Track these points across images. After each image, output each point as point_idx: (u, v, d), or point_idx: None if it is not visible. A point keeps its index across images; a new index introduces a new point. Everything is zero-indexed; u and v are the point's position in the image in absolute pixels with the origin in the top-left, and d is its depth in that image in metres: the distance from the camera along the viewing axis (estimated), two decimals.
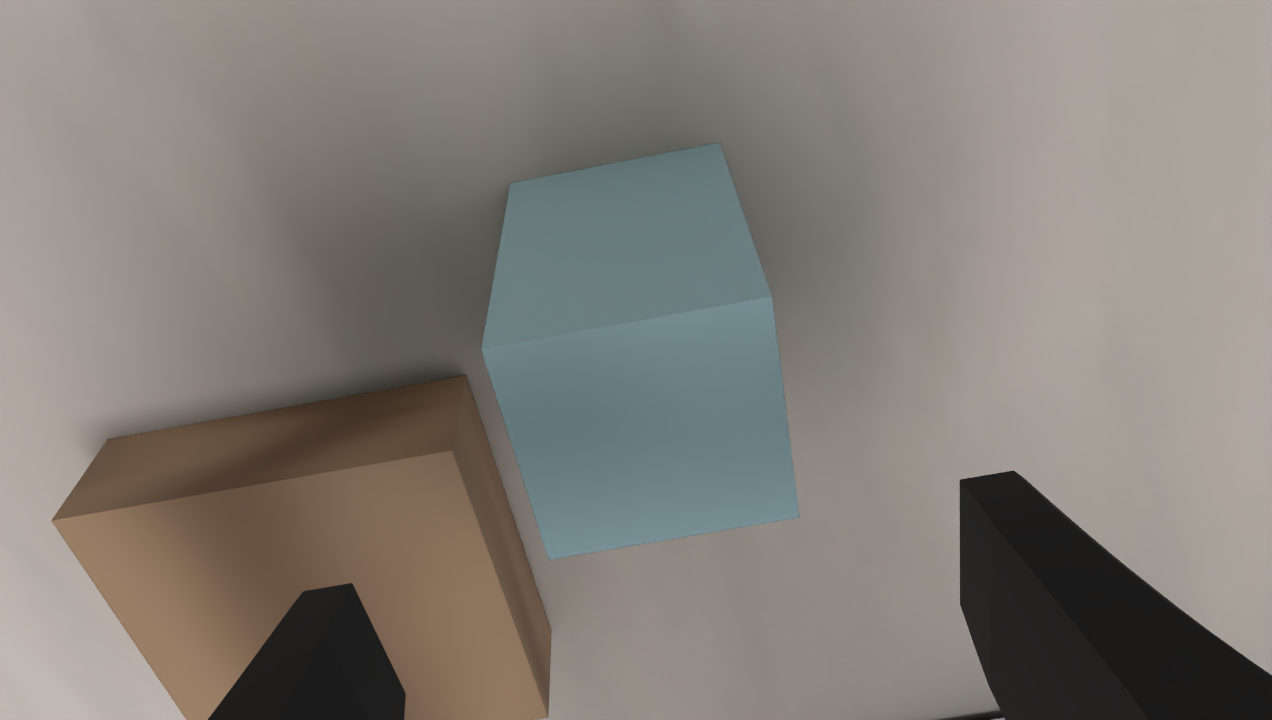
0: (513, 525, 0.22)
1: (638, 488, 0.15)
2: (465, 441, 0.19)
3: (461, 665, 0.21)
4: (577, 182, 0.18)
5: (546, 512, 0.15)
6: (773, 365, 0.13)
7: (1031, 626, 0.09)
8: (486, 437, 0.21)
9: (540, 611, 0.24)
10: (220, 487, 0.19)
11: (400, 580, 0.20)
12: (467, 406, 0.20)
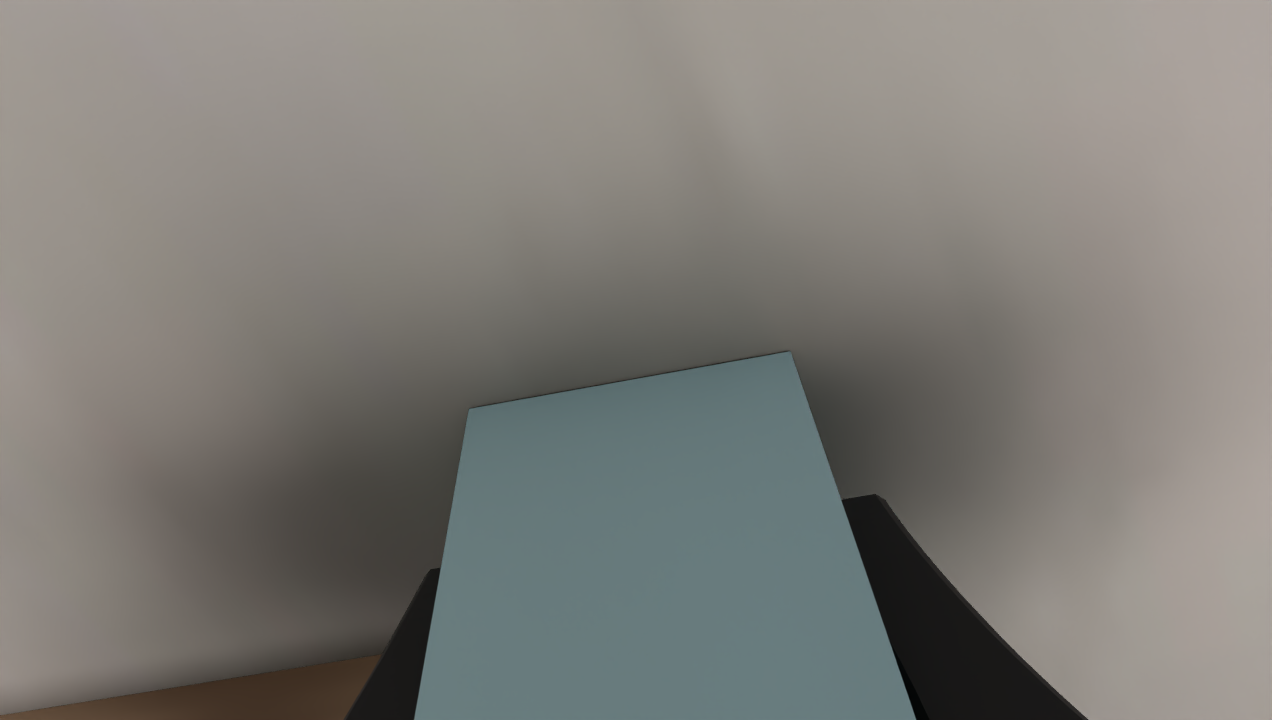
0: None
1: None
2: None
3: None
4: (572, 419, 0.11)
5: None
6: None
7: None
8: None
9: None
10: None
11: None
12: None
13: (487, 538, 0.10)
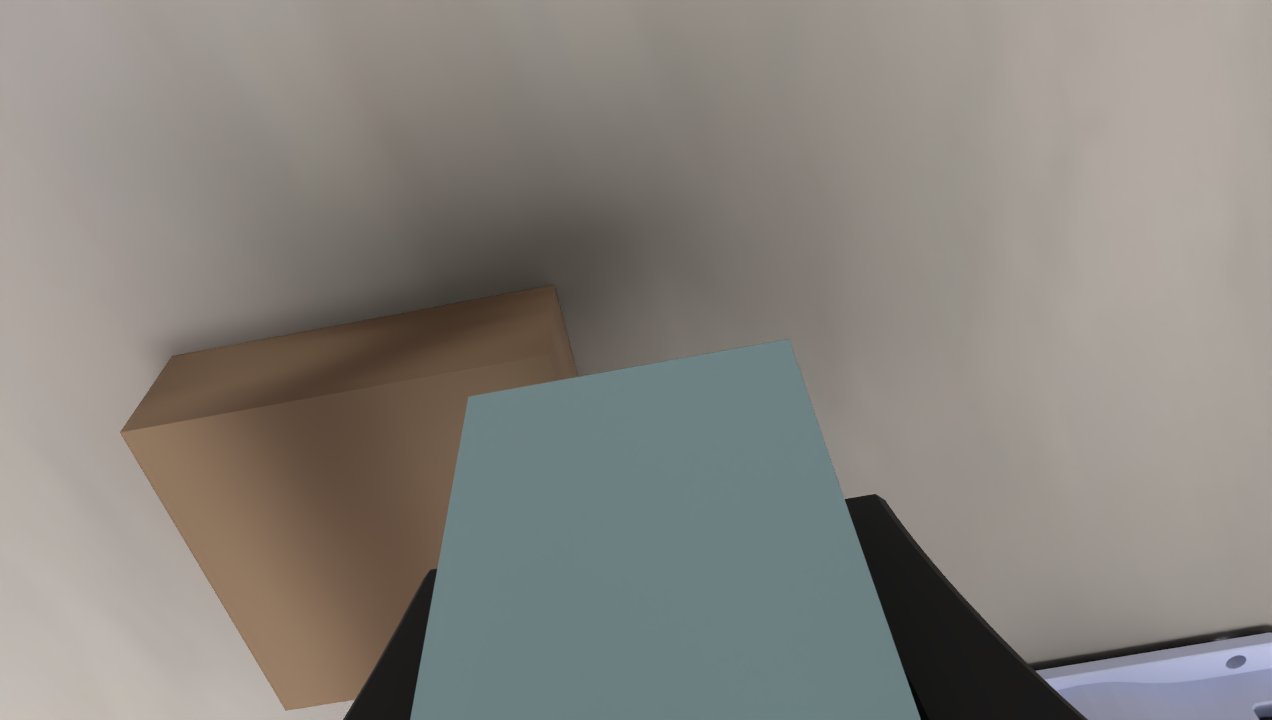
0: None
1: None
2: (558, 350, 0.18)
3: None
4: (571, 405, 0.11)
5: None
6: None
7: None
8: (572, 355, 0.20)
9: None
10: (300, 395, 0.17)
11: None
12: (557, 316, 0.19)
13: (486, 522, 0.10)
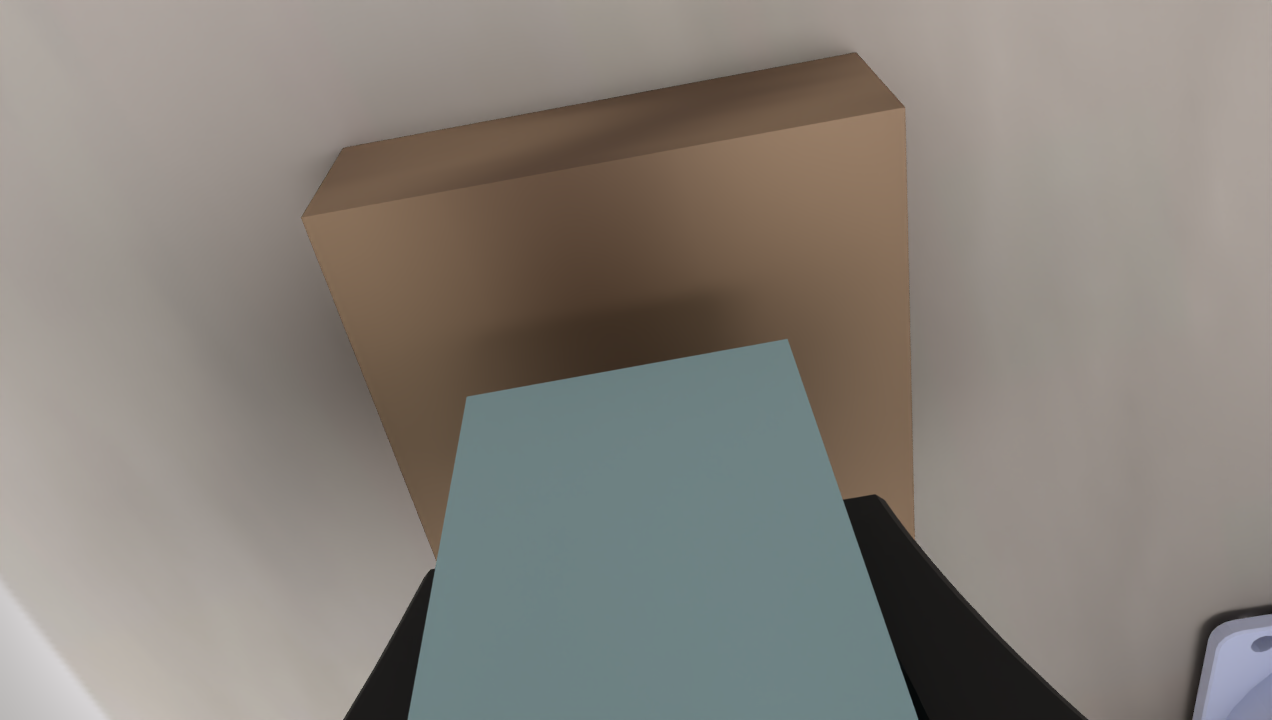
0: None
1: None
2: None
3: None
4: (569, 406, 0.11)
5: None
6: None
7: None
8: None
9: None
10: (550, 168, 0.13)
11: (775, 332, 0.14)
12: None
13: (484, 523, 0.10)
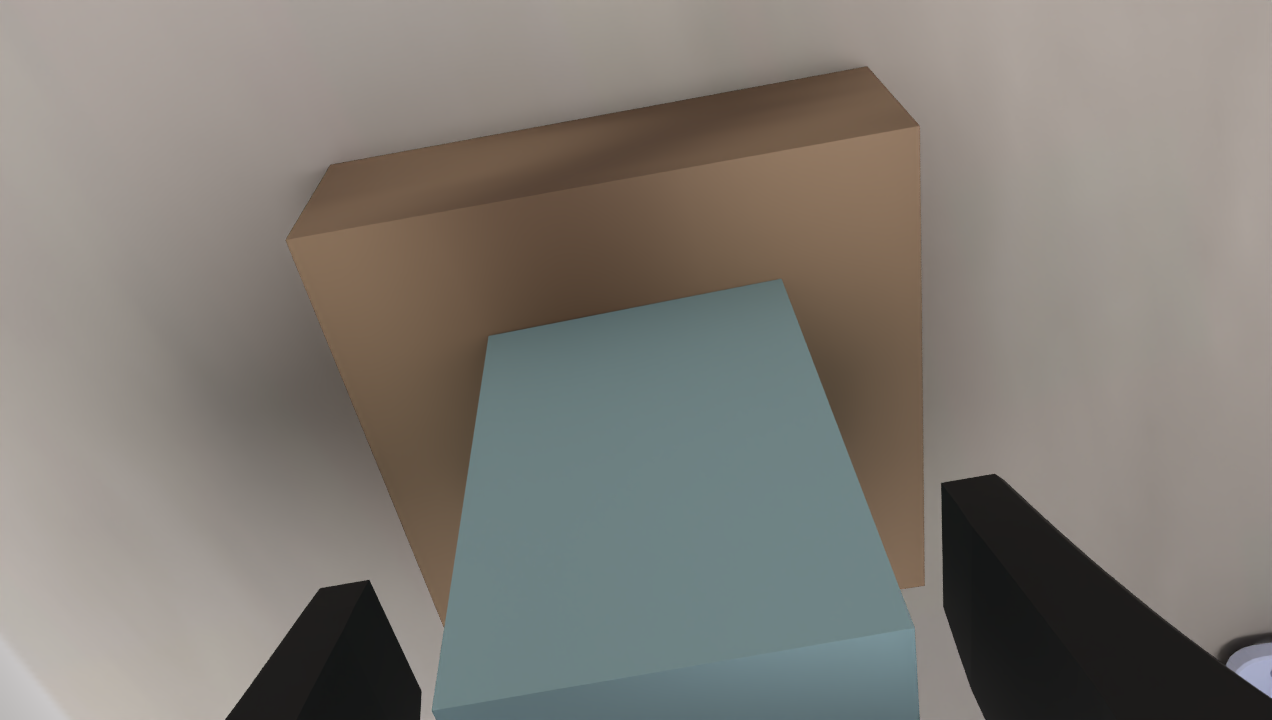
0: None
1: None
2: None
3: None
4: (584, 340, 0.12)
5: None
6: (907, 716, 0.08)
7: (1011, 630, 0.09)
8: None
9: None
10: (548, 188, 0.12)
11: None
12: None
13: (510, 438, 0.11)
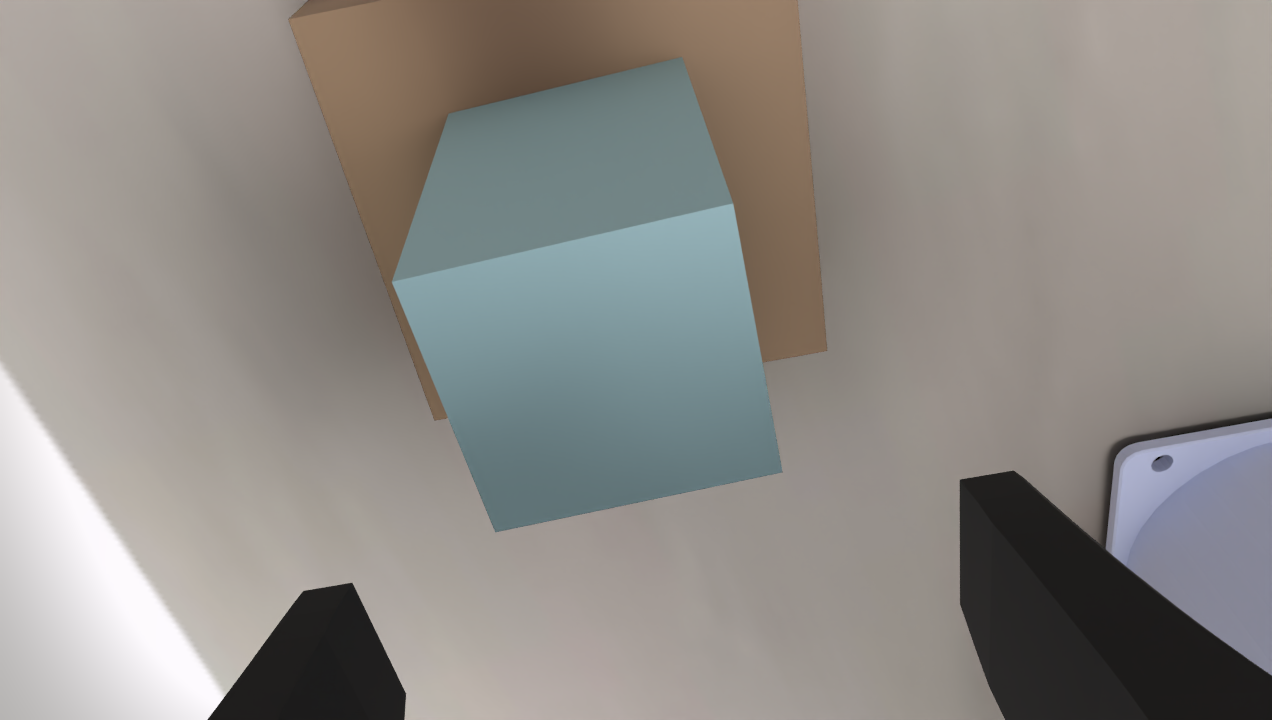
0: None
1: (592, 444, 0.12)
2: None
3: None
4: (522, 107, 0.16)
5: (487, 476, 0.13)
6: (740, 288, 0.11)
7: (1031, 626, 0.09)
8: None
9: None
10: None
11: None
12: None
13: (460, 160, 0.14)
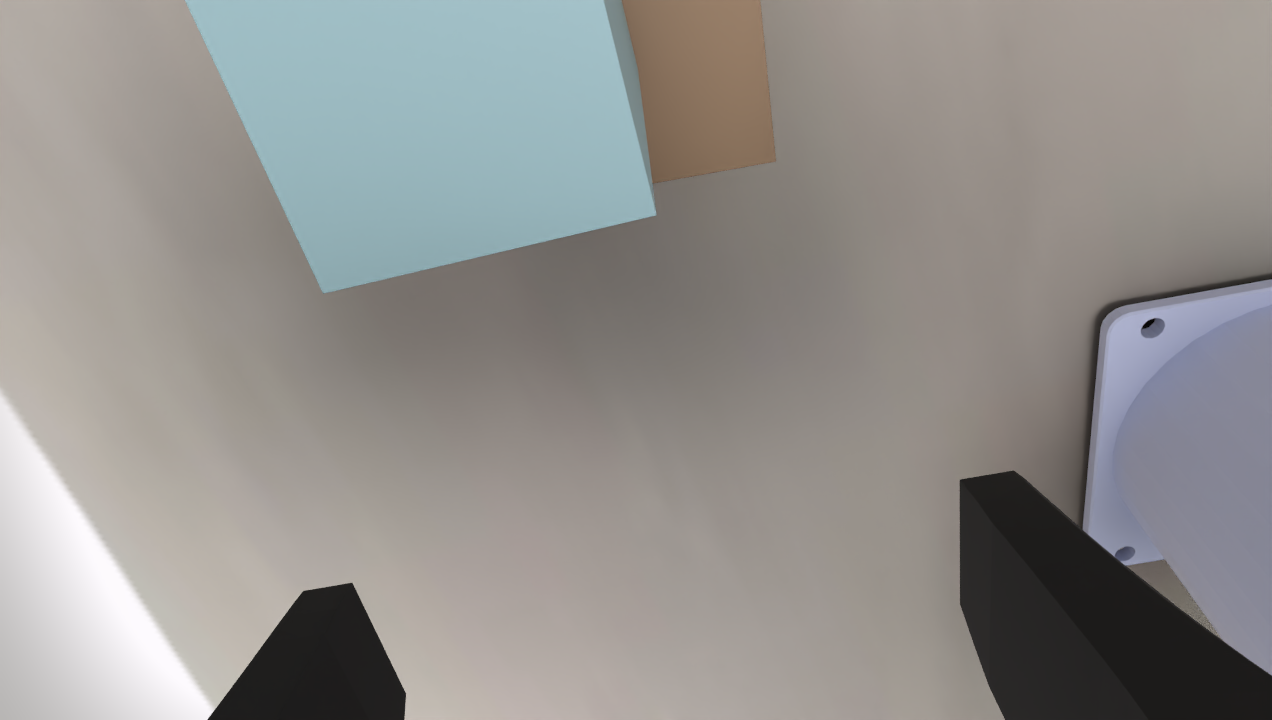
0: None
1: (424, 172, 0.10)
2: None
3: (675, 52, 0.16)
4: None
5: (303, 215, 0.11)
6: None
7: (1032, 626, 0.09)
8: None
9: None
10: None
11: None
12: None
13: None
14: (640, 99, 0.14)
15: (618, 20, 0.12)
